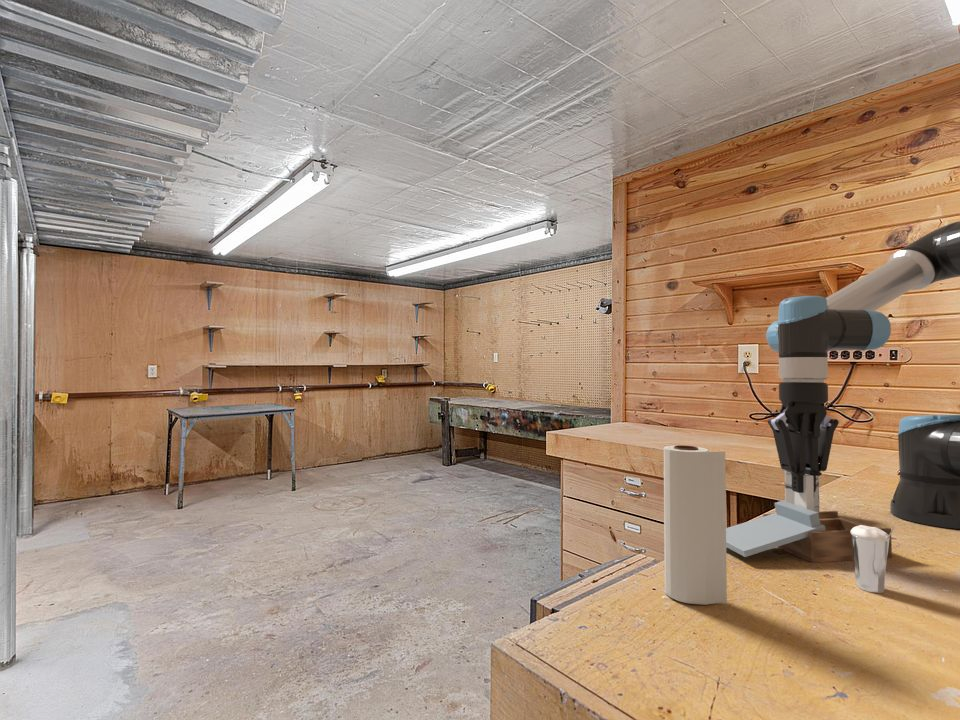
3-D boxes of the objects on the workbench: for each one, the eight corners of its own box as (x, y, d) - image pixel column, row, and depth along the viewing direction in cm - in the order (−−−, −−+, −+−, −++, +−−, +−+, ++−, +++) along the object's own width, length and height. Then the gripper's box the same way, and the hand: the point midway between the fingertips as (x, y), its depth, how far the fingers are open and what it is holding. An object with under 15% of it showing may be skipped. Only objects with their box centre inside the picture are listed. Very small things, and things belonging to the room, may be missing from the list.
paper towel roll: (655, 590, 71) (654, 445, 72) (687, 583, 73) (685, 443, 74) (693, 612, 65) (692, 452, 65) (727, 605, 67) (725, 450, 67)
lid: (784, 515, 93) (780, 499, 93) (825, 531, 83) (822, 513, 83) (710, 538, 90) (706, 521, 90) (745, 557, 81) (741, 538, 81)
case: (835, 536, 95) (835, 510, 95) (891, 557, 84) (891, 528, 85) (763, 540, 93) (763, 514, 93) (811, 562, 82) (811, 533, 82)
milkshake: (888, 600, 68) (886, 529, 69) (845, 585, 73) (844, 519, 73) (903, 593, 70) (902, 524, 71) (860, 579, 75) (859, 515, 75)
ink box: (809, 520, 106) (808, 466, 106) (783, 515, 110) (783, 463, 110) (820, 512, 112) (819, 461, 112) (795, 508, 115) (795, 458, 116)
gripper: (816, 380, 94) (817, 503, 93) (756, 380, 91) (757, 505, 91) (852, 381, 86) (853, 514, 85) (787, 381, 84) (788, 517, 83)
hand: (804, 510), depth 88 cm, fingers closed
